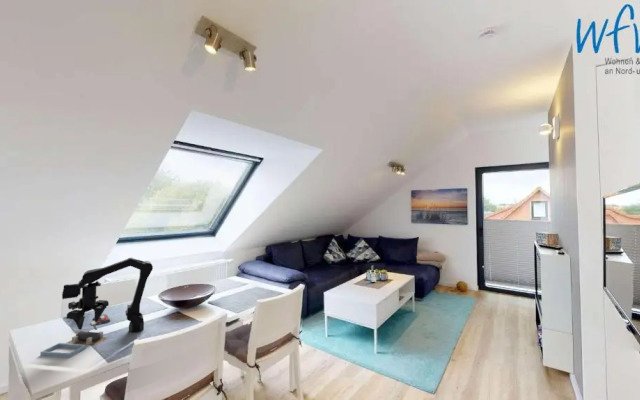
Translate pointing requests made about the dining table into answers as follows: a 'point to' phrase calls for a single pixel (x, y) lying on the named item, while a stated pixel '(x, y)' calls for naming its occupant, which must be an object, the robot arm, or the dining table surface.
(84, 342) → the block
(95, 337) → the tan-capped grey cylinder
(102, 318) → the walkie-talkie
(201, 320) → the dining table surface
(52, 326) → the dining table surface
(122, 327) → the dining table surface
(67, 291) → the robot arm
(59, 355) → the tray
